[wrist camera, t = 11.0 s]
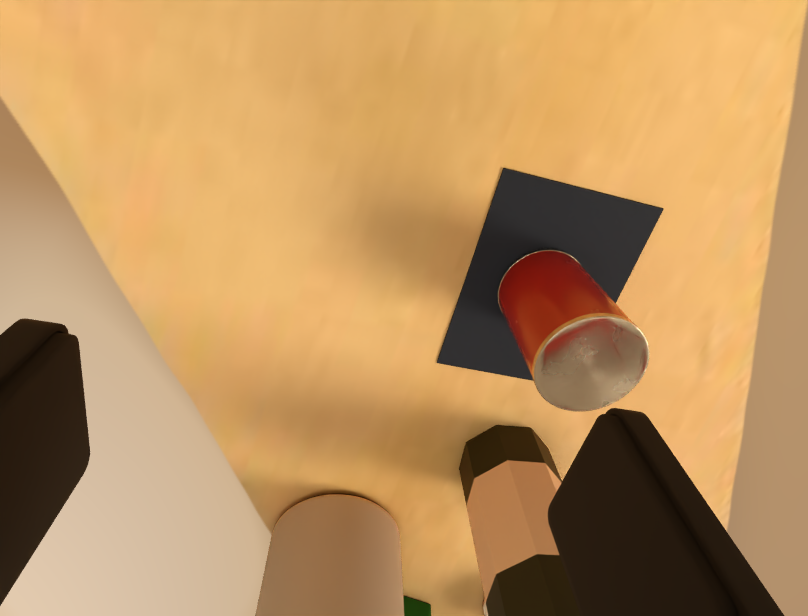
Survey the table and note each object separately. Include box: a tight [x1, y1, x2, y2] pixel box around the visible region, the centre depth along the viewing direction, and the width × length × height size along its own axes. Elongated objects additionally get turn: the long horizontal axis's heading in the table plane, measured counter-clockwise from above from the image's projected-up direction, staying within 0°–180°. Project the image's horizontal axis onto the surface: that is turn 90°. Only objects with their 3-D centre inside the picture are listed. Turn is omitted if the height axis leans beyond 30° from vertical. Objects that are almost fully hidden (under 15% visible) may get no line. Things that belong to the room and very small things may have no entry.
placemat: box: [437, 168, 663, 381], centre depth 38 cm, size 16×12×1 cm
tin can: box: [497, 248, 649, 411], centre depth 33 cm, size 7×7×10 cm
